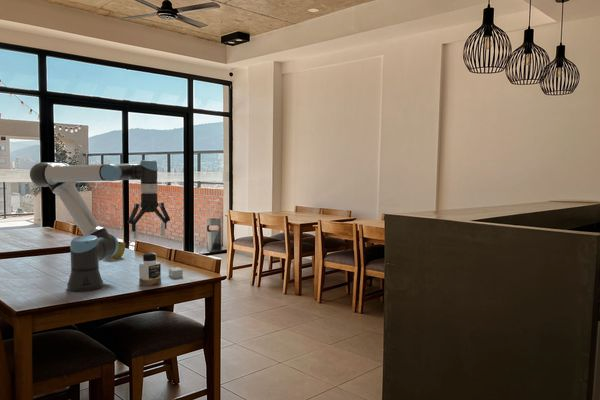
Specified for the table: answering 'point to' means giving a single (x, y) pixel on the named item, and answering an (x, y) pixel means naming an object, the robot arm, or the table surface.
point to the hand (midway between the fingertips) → (149, 237)
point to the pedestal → (149, 282)
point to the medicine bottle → (149, 267)
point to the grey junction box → (175, 272)
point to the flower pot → (119, 250)
